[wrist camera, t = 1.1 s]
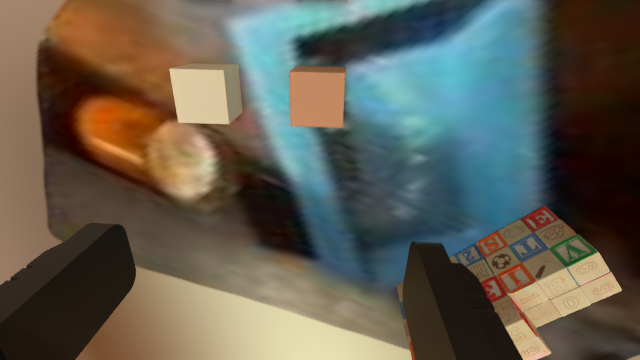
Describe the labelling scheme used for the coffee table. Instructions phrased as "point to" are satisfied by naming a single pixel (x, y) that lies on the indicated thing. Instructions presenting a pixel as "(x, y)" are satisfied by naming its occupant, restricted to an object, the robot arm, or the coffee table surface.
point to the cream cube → (207, 93)
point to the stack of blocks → (534, 276)
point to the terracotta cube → (317, 96)
